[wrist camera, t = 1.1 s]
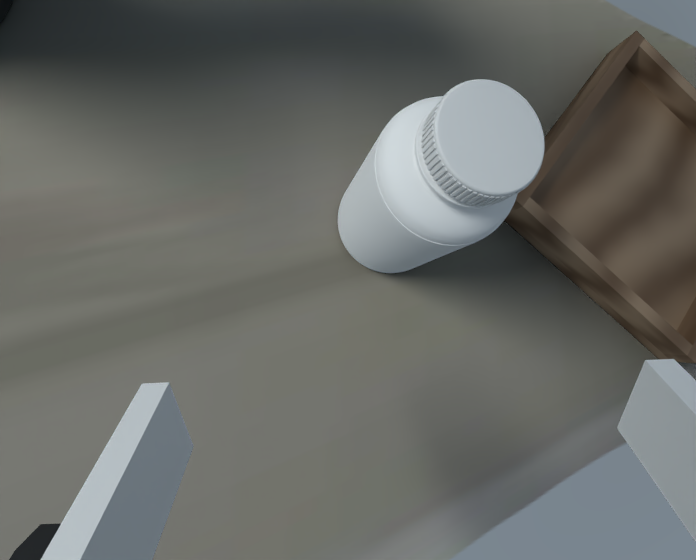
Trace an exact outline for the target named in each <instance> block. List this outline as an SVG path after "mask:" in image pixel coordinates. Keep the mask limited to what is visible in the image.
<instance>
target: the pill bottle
mask: <svg viewBox="0 0 696 560" xmlns="http://www.w3.org/2000/svg"><path fill="white" fill-rule="evenodd" d="M544 149H545V143H544V134H543V130H542V126H541V123H540V121H539V119H538V116H537V114H536V113H535V111H534V109H533V108H532V107H531V105H530V104H529V103H528V101H527V100H526V99H525V98H524V97H523V96H522V95H520V94H519V93H518V92H517V91H515V90H514V89H512V88H511V87H509V86H507V85H505V84H503V83H500V82H497V81H493V80H487V79H476V80H470V81H465V82H464V83H460V84H459V85H456V86H455V87H454V88H451V89H450V90H449V91H448V92H447V93H446V94H445V95H444V96H438V97H431V98H426V99H423V100H420V101H417V102H415V103H413V104H411V105H409V106H407V107H406V108H404V109H402V110H401V111H400V112H398V113H397V114H396V115H395V116H394V117H393V118H392V119H391V120H390V121H389V122H388V124H387V125H386V126H385V128H384V129H383V131H382V132H381V134H380V136H379V137H378V139H377V141H376V142H375V144H374V145H373V147H372V149H371V150H370V152H369V154H368V155H367V157H366V159H365V160H364V162H363V164H362V165H361V167H360V169H359V170H358V172H357V174H356V175H355V177H354V179H353V180H352V182H351V184H350V185H349V187H348V189H347V190H346V192H345V194H344V195H343V198H342V200H341V203H340V207H339V211H338V229H339V233H340V237H341V239H342V242H343V244H344V246H345V247H346V249H347V250H348V252H349V253H350V254H351V255H352V257H353V258H354V259H355V260H357V261H358V262H359V263H360V264H362V265H364V266H365V267H367V268H369V269H372V270H374V271H378V272H382V273H398V272H404V271H407V270H410V269H413V268H415V267H418V266H420V265H422V264H425V263H427V262H430V261H432V260H434V259H437V258H439V257H442V256H444V255H446V254H449V253H451V252H454V251H456V250H459V249H461V248H463V247H466V246H468V245H471V244H473V243H475V242H477V241H479V240H481V239H483V238H485V237H487V236H488V235H490V234H491V233H492V232H494V231H495V230H496V229H497V228H498V227H499V226H500V225H501V224H502V222H503V221H504V220H505V219H506V217H507V216H508V214H509V213H510V211H511V209H512V207H513V205H514V203H515V200H516V197H517V194H518V193H519V192H520V191H522V190H524V189H525V188H526V187H527V186H529V184H531V182H532V180H534V179H535V177H536V175H537V174H538V171H539V170H540V168H541V165H542V161H543V157H544Z"/></svg>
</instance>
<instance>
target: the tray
mask: <svg viewBox="0 0 696 560" xmlns="http://www.w3.org/2000/svg"><path fill="white" fill-rule="evenodd" d="M544 143H545V149H544V157H543V161H542V165H541V168H540V170H539V171H538V174H537V175H536V177H535V179H534V180H532V182H531V184H529V186H527V187H526V188H525V189H524V190H522V191H520V192H519V193H518V194H517V197H516V200H515V203H514V205H513V207H512V209H511V211H510V213H509V214H508V216H507V217H506V219H505V221H506V222H507V223H508V224H509V225H510V226H511V227H512V228H513V229H515V230H516V231H517V232H518V233H519V234H520V235H521V236H522V237H523V238H525V239H526V240H527V241H528V242H529V243H530V244H531V245H532V246H534V247H535V248H536V249H537V250H538V251H539V252H540V253H541V254H542V255H544V256H545V257H546V258H547V259H548V260H549V261H550V262H551V263H552V264H554V265H555V266H556V267H557V268H558V269H559V270H560V271H561V272H562V273H564V274H565V275H566V276H567V277H568V278H569V279H570V280H571V281H573V282H574V283H575V284H576V285H577V286H578V287H579V288H580V289H581V290H583V291H584V292H585V293H586V294H587V295H588V296H589V297H590V298H591V299H593V300H594V301H595V302H596V303H597V304H598V305H599V306H600V307H601V308H603V309H604V310H605V311H606V312H607V313H608V314H609V315H610V316H612V317H613V318H614V319H615V320H616V321H617V322H618V323H619V324H620V325H622V326H623V327H624V328H625V329H626V330H627V331H628V332H629V333H630V334H632V335H633V336H634V337H635V338H636V339H637V340H638V341H639V342H640V343H642V344H643V345H644V346H645V347H646V348H647V349H648V350H649V351H650V352H652V353H653V354H654V355H655V356H656V357H657V358H658V359H675V360H676V361H677V362H684V363H696V89H695V88H694V87H693V86H692V85H691V84H690V83H689V82H688V81H687V80H686V79H685V78H684V77H683V76H682V75H681V74H680V73H679V72H678V71H677V70H676V69H675V68H674V67H673V66H672V65H671V64H670V63H669V62H668V61H667V60H666V59H665V58H664V57H663V56H662V55H661V54H660V53H659V52H658V51H657V50H656V49H655V48H654V47H653V46H652V45H651V44H650V43H649V42H648V41H647V40H646V39H645V38H644V37H643V36H642V35H641V34H640V33H639V32H638V31H635V32H634V33H633V34H632V35H630V36H629V37H628V38H626V39H625V40H624V41H623V42H621V43H620V44H619V45H618V46H616V47H615V48H614V49H613V50H611V51H610V52H609V53H608V54H607V55H606V56H605V58H604V59H603V60H602V62H601V63H600V64H599V66H598V67H597V68H596V70H595V71H594V72H593V74H592V75H591V76H590V78H589V79H588V80H587V82H586V83H585V85H584V86H583V87H582V89H581V90H580V91H579V93H578V94H577V95H576V97H575V98H574V99H573V101H572V102H571V103H570V105H569V106H568V107H567V109H566V110H565V111H564V113H563V114H562V115H561V117H560V118H559V119H558V121H557V122H556V123H555V125H554V126H553V127H552V129H551V130H550V131H549V133H548V134H547V135H546V137H545V138H544Z"/></svg>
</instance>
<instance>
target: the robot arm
mask: <svg viewBox="0 0 696 560" xmlns="http://www.w3.org/2000/svg"><path fill="white" fill-rule="evenodd" d="M12 1H13V0H0V22H1V21H2V20H3V18H4V17H5V15H6V13H7V12H8V10H9V8H10V6H11V3H12ZM617 429H618V430H619V432H620V433H621V435H622V436H623V438H624V439H625V440H626V442H627V443H628V445H629V446H630V448H631V449H632V451H633V452H634V453H635V455H636V456H637V458H638V459H639V461H640V462H641V464H642V465H643V467H644V468H645V469H646V471H647V472H648V474H649V475H650V477H651V478H652V480H653V481H654V482H655V484H656V485H657V487H658V488H659V490H660V491H661V493H662V494H663V496H664V497H665V498H666V500H667V501H668V503H669V504H670V505H671V507H672V508H673V510H674V511H675V513H676V514H677V516H678V517H679V519H680V520H681V522H682V523H683V524H684V526H685V527H686V529H687V530H688V532H689V533H690V534H691V536H692V537H693V539H694V540H695V542H696V380H695V379H694V378H693V377H692V376H691V375H690V374H689V373H688V372H687V371H686V370H685V369H684V368H683V367H682V366H681V365H680V364H679V363H678V362H677V361H676V360H675V359H659V360H645V362H644V364H643V367H642V369H641V372H640V374H639V376H638V379H637V381H636V384H635V386H634V388H633V391H632V393H631V396H630V398H629V400H628V403H627V405H626V407H625V410H624V412H623V415H622V417H621V419H620V422H619V424H618V427H617ZM193 447H194V446H193V443H192V441H191V438H190V436H189V433H188V430H187V428H186V425H185V423H184V420H183V417H182V415H181V412H180V410H179V407H178V404H177V402H176V399H175V397H174V394H173V391H172V389H171V386H170V384H169V382H167V383H146V384H142V385H141V386H140V388H139V390H138V392H137V393H136V395H135V397H134V398H133V400H132V402H131V404H130V405H129V407H128V409H127V411H126V412H125V414H124V416H123V418H122V419H121V421H120V423H119V424H118V426H117V428H116V430H115V431H114V433H113V435H112V437H111V438H110V440H109V442H108V444H107V445H106V447H105V449H104V450H103V452H102V454H101V456H100V457H99V459H98V461H97V463H96V464H95V466H94V468H93V470H92V471H91V473H90V475H89V476H88V478H87V480H86V482H85V483H84V485H83V487H82V489H81V490H80V492H79V494H78V496H77V497H76V499H75V501H74V502H73V504H72V506H71V508H70V509H69V511H68V513H67V515H66V516H65V518H64V520H63V522H62V523H61V524H41V525H40V526H39V527H38V528H37V529H36V530H35V531H34V532H33V533H32V534H31V535H30V536H29V537H28V538H27V539H26V540H25V541H24V542H23V543H22V544H21V545H20V546H19V547H18V548H17V549H16V550H15V551H14V553H13V555H12V556H11V558H10V559H9V560H152V559H153V556H154V554H155V551H156V548H157V545H158V543H159V540H160V537H161V534H162V532H163V529H164V526H165V523H166V521H167V518H168V515H169V512H170V510H171V507H172V504H173V501H174V499H175V496H176V493H177V490H178V488H179V485H180V482H181V479H182V477H183V474H184V471H185V469H186V466H187V463H188V460H189V458H190V455H191V452H192V449H193Z"/></svg>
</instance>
